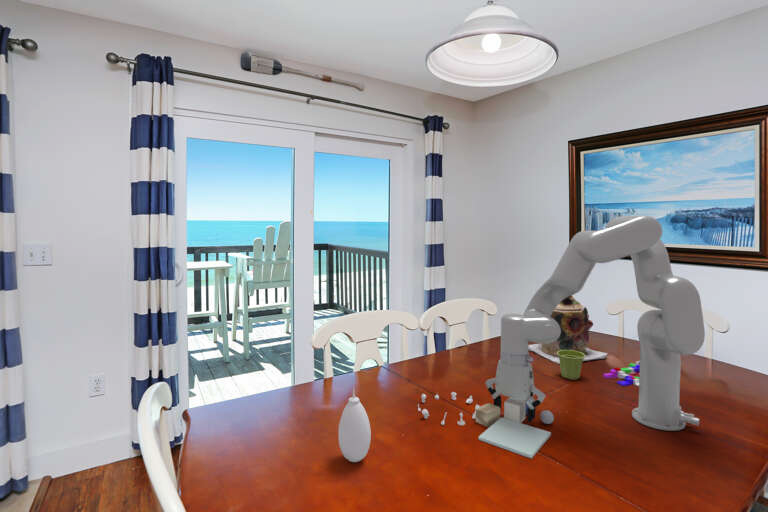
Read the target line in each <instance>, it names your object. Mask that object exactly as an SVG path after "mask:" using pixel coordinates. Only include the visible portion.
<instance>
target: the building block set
mask: <svg viewBox="0 0 768 512" xmlns="http://www.w3.org/2000/svg"><path fill="white" fill-rule="evenodd" d="M639 376H640V360H638V361H635V363H633V362H631V363H628V367H621V368H620V367H613V368H612V369H610V370H609V372H608V373H603V374H602V377H603V378H605V379H607V380H609V379H616V378H618V379H624V380H619V381H616V384H617V385H619V386H622V387H627V386H631V385H634V386H636V387H638V388H639Z"/></svg>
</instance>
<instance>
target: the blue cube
mask: <svg viewBox="0 0 768 512" xmlns="http://www.w3.org/2000/svg"><path fill="white" fill-rule="evenodd" d="M528 408H529V406H528V405H527V403H526V402H525V415H527V409H528Z"/></svg>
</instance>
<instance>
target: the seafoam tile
mask: <svg viewBox="0 0 768 512" xmlns="http://www.w3.org/2000/svg"><path fill="white" fill-rule="evenodd" d="M551 436H552V431H551V432H550V431H547V430H545V429H541V428H538V427H534V426H531V425H528V424H525V423H523V422H522V423H519V422H515V421H512V420H509V419H506V418H504V417H502V416H500V418H499V419H498V420H497V421H496V422H495V423H494V424H492V425H490V426H488V427H487V429H486V430H484V432H482V433H480V434H479V436H478V440H479V441H480V442H481V441H482V442H484V443H487V444H490V445H493V446H495V447H498V448H501V449H504V450H507V451H509V452H512V453H515V454H518V455H519V456H523V457H525V458H530V459H533V457H535V456H536V454H537V453H538V452H539V450H540V449H541V448H542V447H543V445H545V443H546V442H547V441H548V439H549V438H550V437H551Z"/></svg>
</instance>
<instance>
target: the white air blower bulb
mask: <svg viewBox="0 0 768 512" xmlns="http://www.w3.org/2000/svg"><path fill="white" fill-rule="evenodd" d="M339 420H340V421H339V423H338V424H339V425H338V436H337V437H338V445H339V449H340V451H341V453H342V455H343V457H344V458H345V459H347V460H348V461H349V462H352V463H357V462H360V461H362V460H363V459H364V458H365V457H366V456H367V454H368V452H369V449H370V445H371V439H372V433H371V432H372V431H371V430H372V429H371V424H370V420H369V416H368V414H367V411H366V409H365V406H363V404H362V403H361V401H360V398H359V397H357V396H356V393H355V388H354V387H353V389H352V397H349V398H348V402H347V404H346V405H345V407H344V409H343V411H342V414H341V417H340V419H339Z"/></svg>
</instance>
